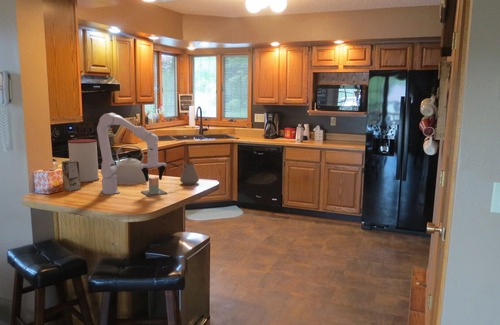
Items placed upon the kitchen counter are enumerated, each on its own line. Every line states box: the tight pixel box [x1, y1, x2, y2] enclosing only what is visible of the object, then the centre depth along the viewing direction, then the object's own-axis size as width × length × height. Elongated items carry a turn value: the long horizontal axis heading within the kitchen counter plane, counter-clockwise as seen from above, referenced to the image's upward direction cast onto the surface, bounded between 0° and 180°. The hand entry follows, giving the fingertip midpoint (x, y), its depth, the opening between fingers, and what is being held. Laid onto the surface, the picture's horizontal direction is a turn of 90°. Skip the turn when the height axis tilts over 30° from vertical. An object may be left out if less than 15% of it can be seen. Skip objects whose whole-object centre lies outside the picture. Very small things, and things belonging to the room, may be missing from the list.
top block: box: [148, 176, 160, 186], centre depth 233 cm, size 4×4×4 cm
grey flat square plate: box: [140, 188, 168, 197], centre depth 234 cm, size 11×11×1 cm
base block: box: [148, 184, 160, 193], centre depth 234 cm, size 4×4×4 cm
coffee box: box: [61, 159, 81, 192], centre depth 242 cm, size 9×6×16 cm
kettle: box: [115, 144, 150, 185], centre depth 264 cm, size 25×23×23 cm
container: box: [67, 138, 100, 184], centre depth 265 cm, size 17×17×25 cm
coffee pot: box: [165, 161, 200, 186], centre depth 253 cm, size 21×12×15 cm, turn 132°
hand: (153, 180), depth 233 cm, fingers open, 7 cm apart
